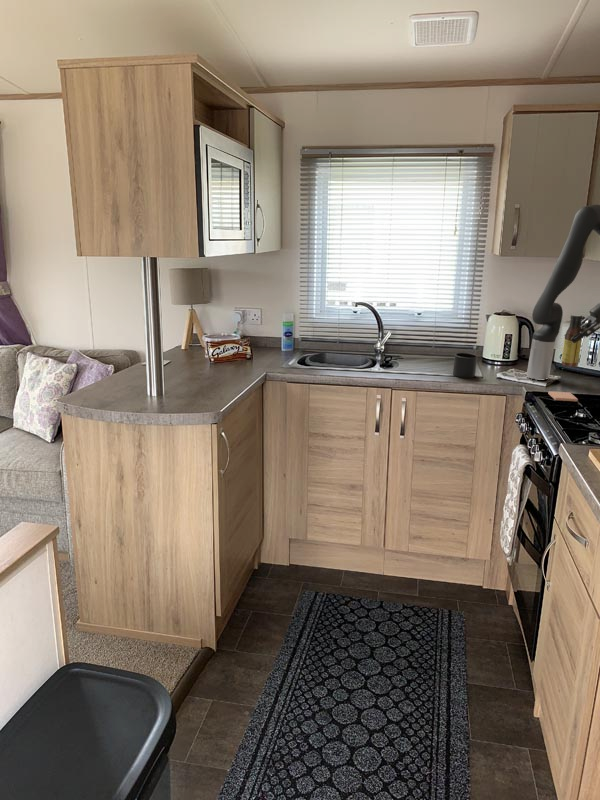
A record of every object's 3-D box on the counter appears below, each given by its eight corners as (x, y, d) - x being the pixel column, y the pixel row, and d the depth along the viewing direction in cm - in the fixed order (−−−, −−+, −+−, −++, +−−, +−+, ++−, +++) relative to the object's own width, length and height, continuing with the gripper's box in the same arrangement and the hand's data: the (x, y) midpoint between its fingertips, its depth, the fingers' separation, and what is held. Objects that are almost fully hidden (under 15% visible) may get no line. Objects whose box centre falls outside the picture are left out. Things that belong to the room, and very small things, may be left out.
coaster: (548, 393, 246) (548, 391, 245) (569, 394, 245) (570, 392, 245) (555, 400, 238) (555, 397, 237) (577, 401, 237) (577, 399, 237)
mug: (468, 371, 274) (471, 351, 272) (477, 378, 263) (480, 358, 260) (448, 370, 274) (450, 351, 271) (456, 378, 262) (459, 357, 260)
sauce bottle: (573, 363, 241) (582, 313, 235) (580, 367, 235) (590, 316, 229) (557, 363, 240) (565, 313, 234) (564, 367, 234) (573, 316, 228)
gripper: (592, 300, 236) (556, 328, 241) (608, 306, 223) (569, 336, 227) (604, 314, 238) (568, 342, 242) (620, 321, 224) (581, 350, 228)
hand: (569, 339), depth 234 cm, fingers closed on sauce bottle, 6 cm apart
